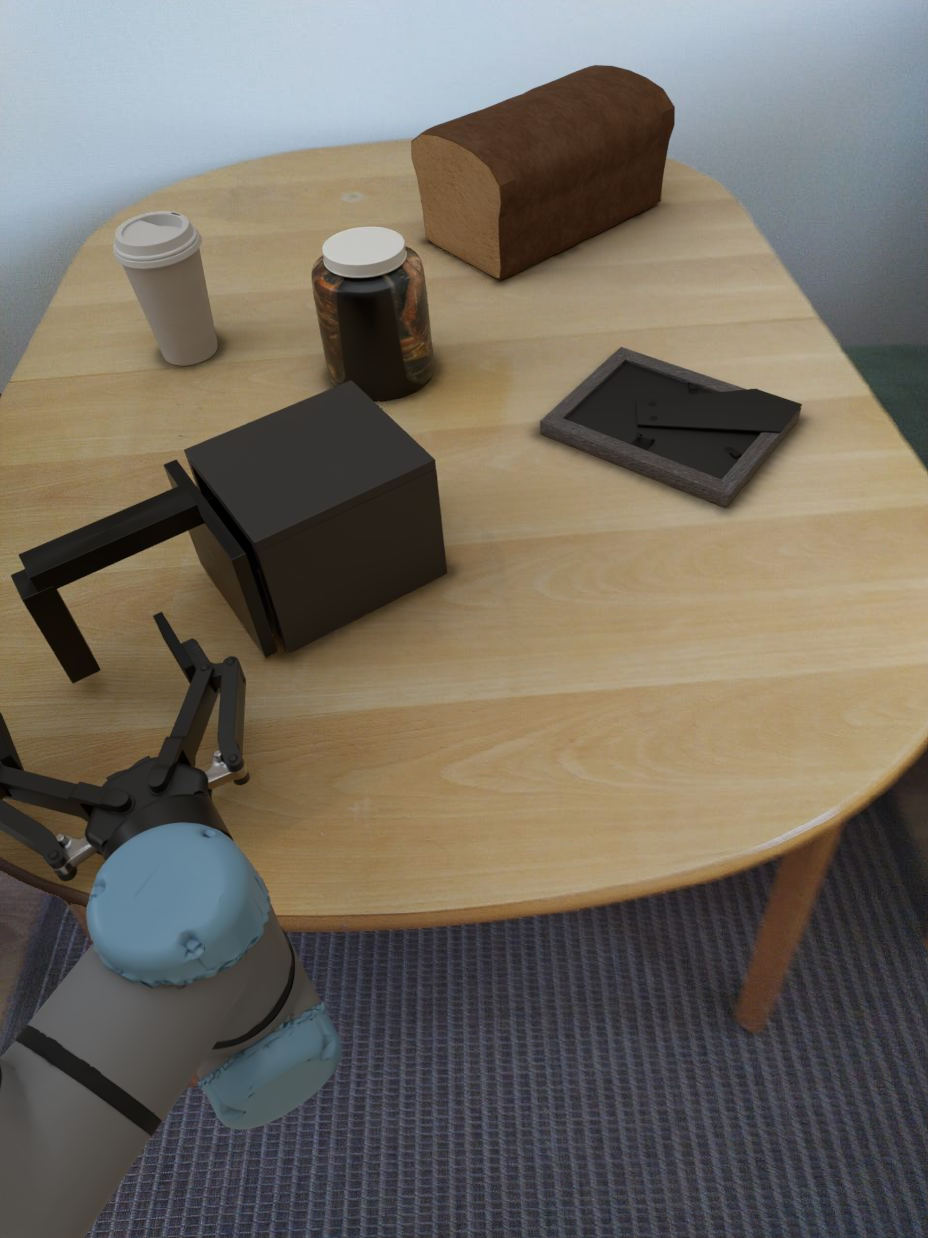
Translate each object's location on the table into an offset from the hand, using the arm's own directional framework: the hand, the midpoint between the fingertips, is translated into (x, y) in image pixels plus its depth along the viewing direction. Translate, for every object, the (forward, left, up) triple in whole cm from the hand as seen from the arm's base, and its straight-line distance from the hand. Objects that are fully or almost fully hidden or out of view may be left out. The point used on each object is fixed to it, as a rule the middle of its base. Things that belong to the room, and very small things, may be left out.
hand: (78, 664), depth 72 cm
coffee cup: (-12, +52, -7) cm, 54 cm away
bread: (+27, +85, -7) cm, 90 cm away
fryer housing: (+14, +18, -6) cm, 24 cm away
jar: (+12, +49, -7) cm, 51 cm away
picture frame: (+44, +41, -7) cm, 61 cm away
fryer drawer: (+8, +12, -6) cm, 15 cm away
